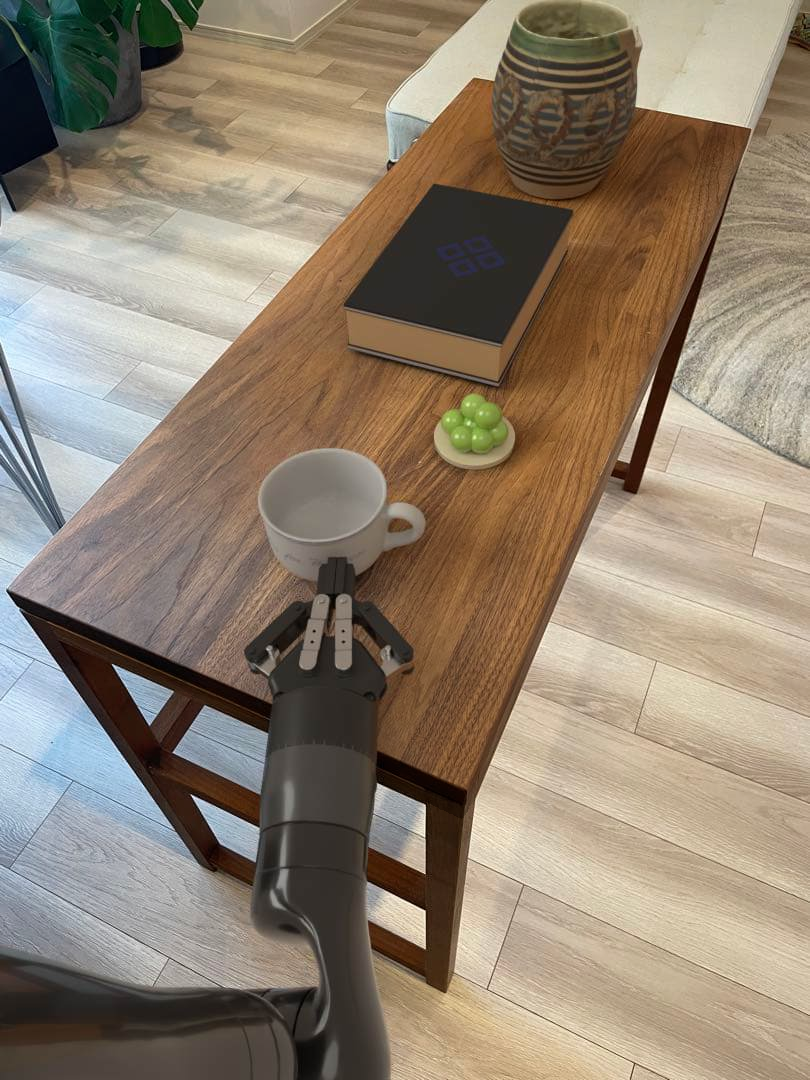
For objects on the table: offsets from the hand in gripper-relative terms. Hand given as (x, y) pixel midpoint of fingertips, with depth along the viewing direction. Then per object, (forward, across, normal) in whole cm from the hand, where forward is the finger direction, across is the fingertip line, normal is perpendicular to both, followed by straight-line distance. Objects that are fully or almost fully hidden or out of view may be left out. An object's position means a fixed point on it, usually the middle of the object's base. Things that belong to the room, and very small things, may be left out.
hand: (338, 562), depth 66 cm
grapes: (+19, -12, +6) cm, 23 cm away
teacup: (+5, 0, +6) cm, 8 cm away
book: (+41, -11, +6) cm, 43 cm away
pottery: (+68, -24, +6) cm, 72 cm away
